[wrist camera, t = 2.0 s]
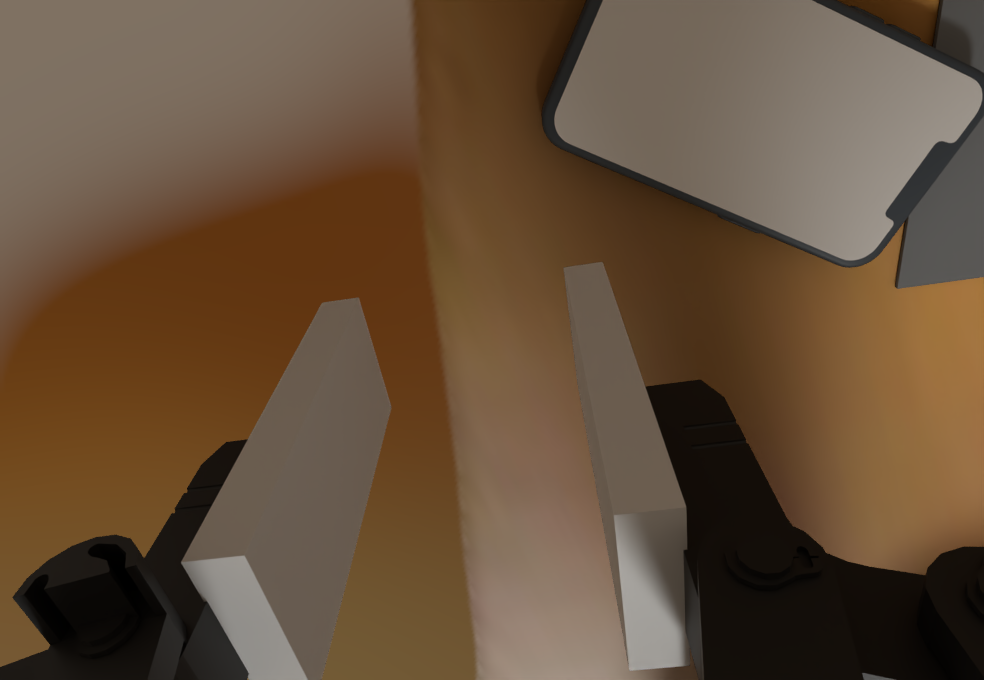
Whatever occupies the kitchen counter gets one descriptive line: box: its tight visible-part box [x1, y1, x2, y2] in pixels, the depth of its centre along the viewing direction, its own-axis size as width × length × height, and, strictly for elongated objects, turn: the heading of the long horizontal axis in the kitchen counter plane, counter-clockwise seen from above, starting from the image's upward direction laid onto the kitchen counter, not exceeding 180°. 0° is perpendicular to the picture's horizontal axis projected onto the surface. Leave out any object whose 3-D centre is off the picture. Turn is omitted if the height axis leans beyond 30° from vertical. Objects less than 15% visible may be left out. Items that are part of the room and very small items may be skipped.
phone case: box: [542, 0, 984, 268], centre depth 26 cm, size 9×2×16 cm
